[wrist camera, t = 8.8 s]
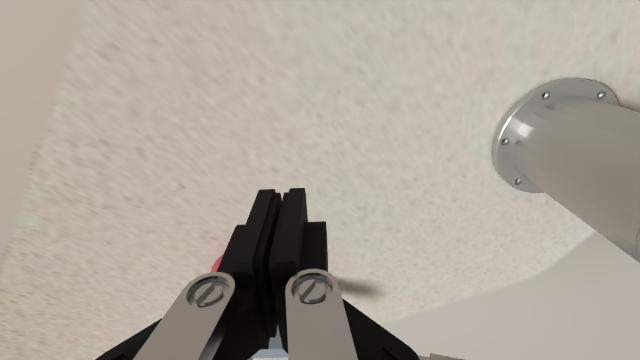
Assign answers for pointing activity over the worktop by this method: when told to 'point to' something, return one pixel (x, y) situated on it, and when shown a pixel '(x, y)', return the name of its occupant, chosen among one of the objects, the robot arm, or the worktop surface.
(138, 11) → the worktop surface
